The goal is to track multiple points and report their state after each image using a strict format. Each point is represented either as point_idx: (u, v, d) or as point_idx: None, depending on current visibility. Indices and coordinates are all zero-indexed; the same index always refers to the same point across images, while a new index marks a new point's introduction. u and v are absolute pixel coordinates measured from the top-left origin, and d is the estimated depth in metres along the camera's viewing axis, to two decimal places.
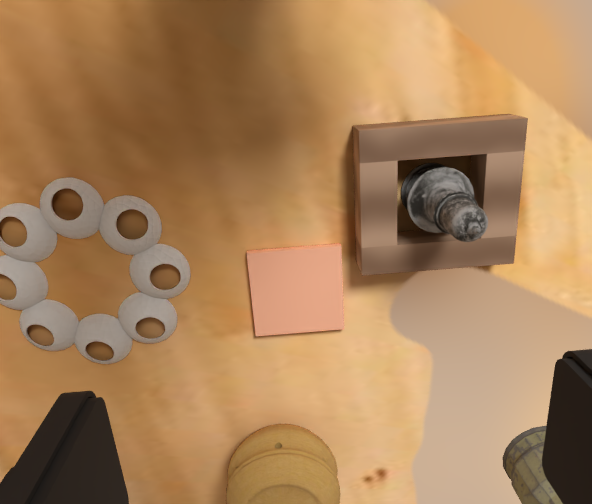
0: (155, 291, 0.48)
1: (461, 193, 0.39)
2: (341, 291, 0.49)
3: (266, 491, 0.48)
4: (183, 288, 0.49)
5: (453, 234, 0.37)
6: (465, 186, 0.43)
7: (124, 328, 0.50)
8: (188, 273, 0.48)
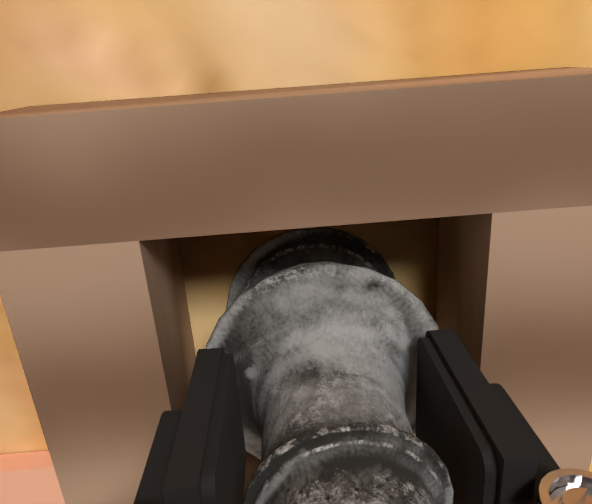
0: None
1: (366, 436, 0.08)
2: None
3: None
4: None
5: None
6: (411, 333, 0.11)
7: None
8: None
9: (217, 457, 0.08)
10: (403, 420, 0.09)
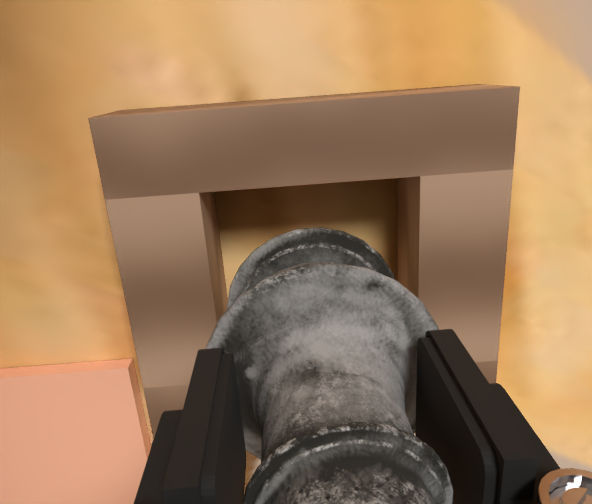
0: None
1: (366, 436, 0.08)
2: (143, 453, 0.24)
3: None
4: None
5: None
6: (411, 333, 0.11)
7: None
8: None
9: (217, 457, 0.08)
10: (403, 420, 0.09)
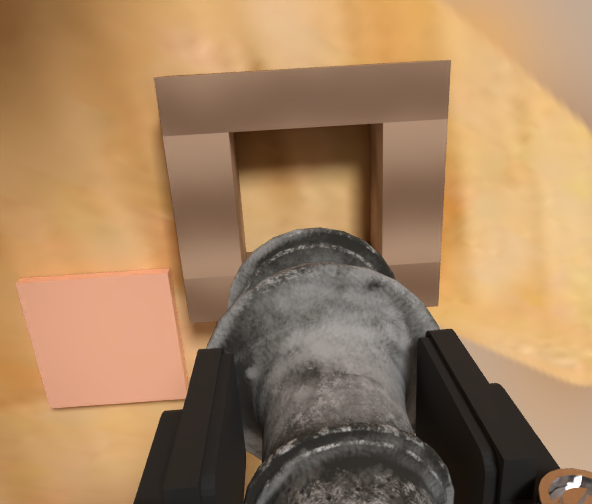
0: None
1: (367, 436, 0.08)
2: (176, 342, 0.31)
3: None
4: None
5: None
6: (412, 333, 0.11)
7: None
8: None
9: (217, 457, 0.08)
10: (404, 420, 0.09)
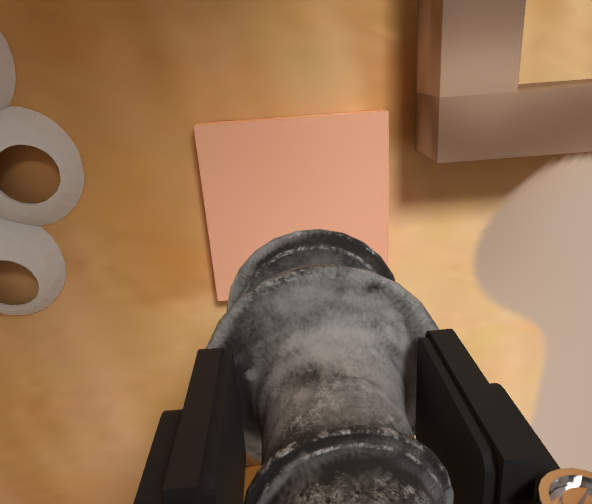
0: (8, 205, 0.23)
1: (367, 439, 0.08)
2: (385, 210, 0.25)
3: None
4: (71, 203, 0.25)
5: None
6: (411, 335, 0.11)
7: None
8: (78, 171, 0.24)
9: (217, 457, 0.08)
10: (403, 422, 0.09)
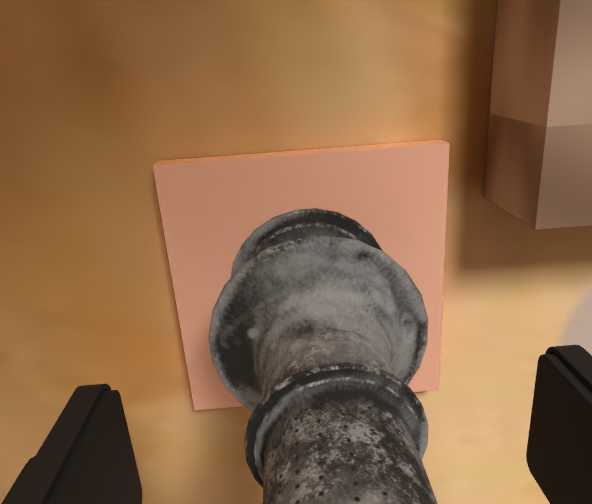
0: None
1: (352, 374, 0.09)
2: (439, 285, 0.17)
3: None
4: None
5: None
6: (397, 299, 0.13)
7: None
8: None
9: None
10: (386, 368, 0.10)
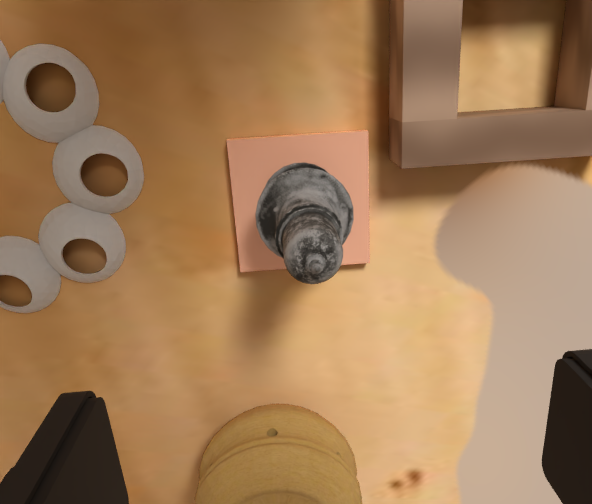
0: (89, 197, 0.32)
1: (314, 207, 0.26)
2: (366, 203, 0.33)
3: (253, 500, 0.32)
4: (133, 197, 0.33)
5: (289, 271, 0.24)
6: (338, 196, 0.29)
7: (46, 257, 0.34)
8: (140, 173, 0.33)
9: None
10: None
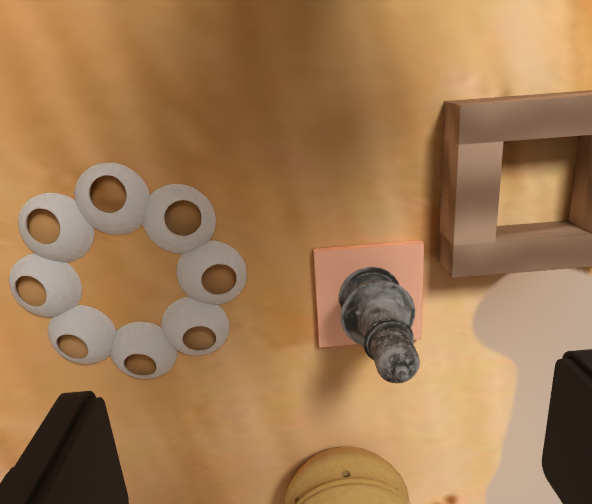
0: (206, 296, 0.41)
1: (393, 321, 0.35)
2: (420, 296, 0.42)
3: None
4: (238, 292, 0.42)
5: (380, 375, 0.33)
6: (404, 301, 0.38)
7: (168, 338, 0.43)
8: (244, 275, 0.42)
9: None
10: None
